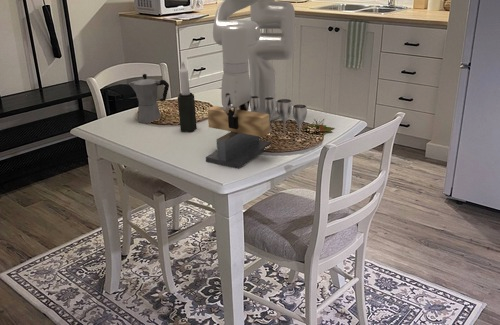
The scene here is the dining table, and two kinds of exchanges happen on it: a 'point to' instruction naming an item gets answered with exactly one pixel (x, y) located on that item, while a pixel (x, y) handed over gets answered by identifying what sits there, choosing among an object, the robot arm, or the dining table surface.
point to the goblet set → (280, 109)
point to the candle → (186, 103)
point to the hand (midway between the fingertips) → (238, 124)
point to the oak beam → (240, 121)
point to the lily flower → (321, 127)
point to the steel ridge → (237, 149)
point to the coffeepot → (148, 98)
